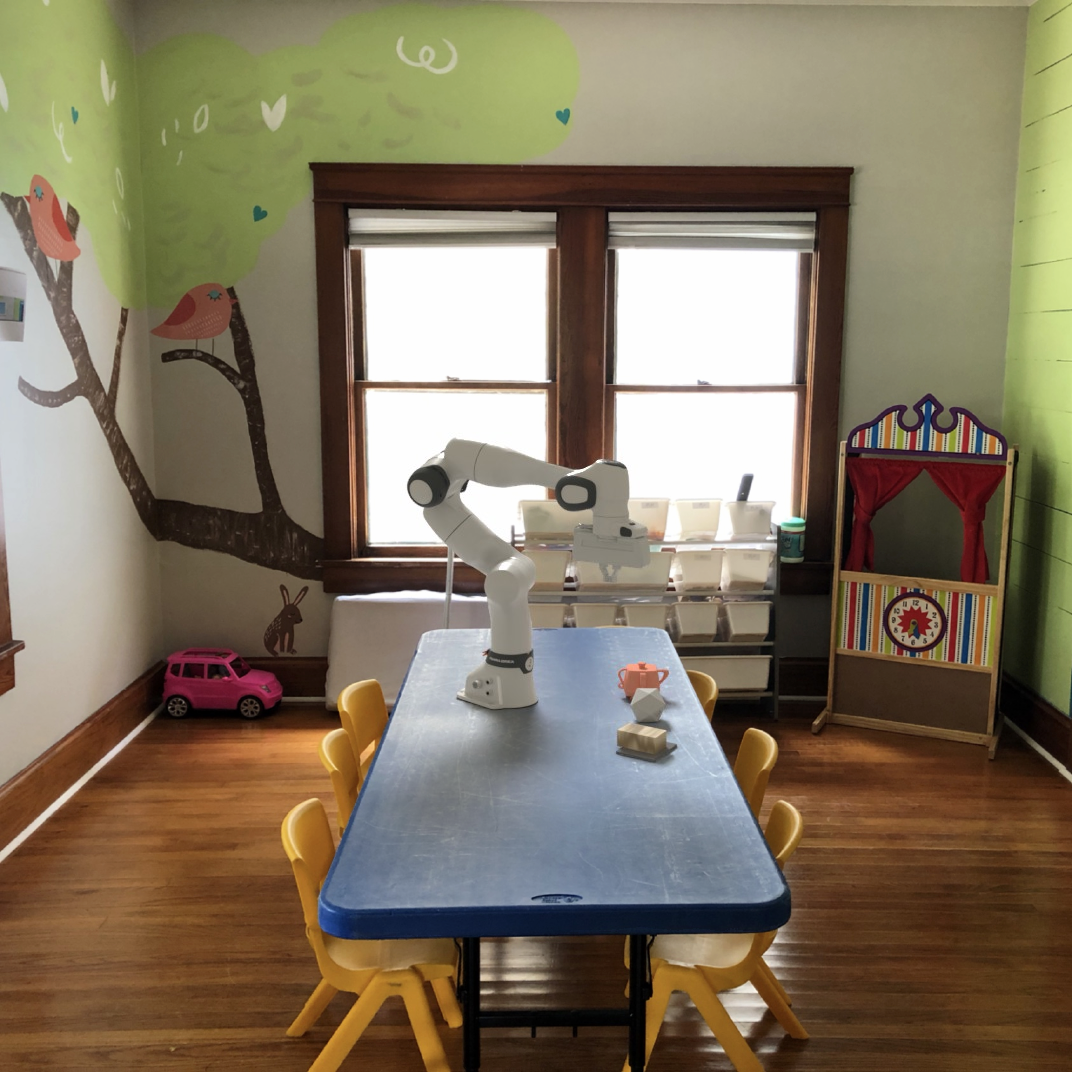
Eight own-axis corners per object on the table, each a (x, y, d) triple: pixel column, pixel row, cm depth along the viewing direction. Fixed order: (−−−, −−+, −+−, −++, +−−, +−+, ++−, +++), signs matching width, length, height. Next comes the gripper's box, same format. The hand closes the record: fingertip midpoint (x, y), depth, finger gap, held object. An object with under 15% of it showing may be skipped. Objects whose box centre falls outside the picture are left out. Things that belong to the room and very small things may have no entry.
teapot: (639, 687, 296) (640, 654, 295) (671, 697, 287) (671, 663, 286) (610, 695, 289) (610, 661, 287) (641, 706, 280) (642, 670, 278)
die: (655, 731, 263) (674, 696, 265) (624, 712, 264) (644, 677, 265) (650, 731, 271) (670, 698, 273) (621, 713, 272) (640, 680, 274)
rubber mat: (616, 753, 246) (616, 751, 246) (639, 738, 256) (639, 735, 256) (654, 762, 240) (654, 759, 240) (677, 746, 250) (677, 744, 250)
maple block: (617, 729, 248) (655, 737, 243) (629, 722, 253) (666, 730, 248) (617, 745, 249) (655, 754, 244) (628, 738, 254) (666, 746, 249)
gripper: (567, 524, 258) (567, 579, 261) (641, 531, 247) (640, 589, 250) (580, 521, 264) (579, 575, 266) (653, 528, 253) (652, 584, 255)
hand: (609, 582), depth 258 cm, fingers closed
